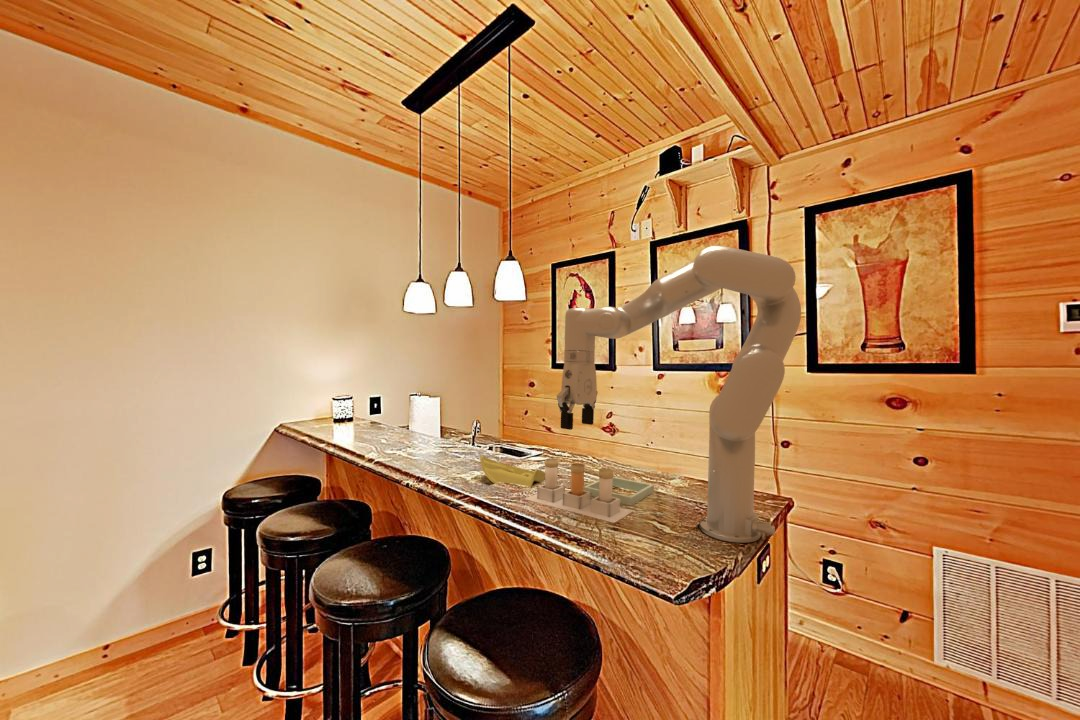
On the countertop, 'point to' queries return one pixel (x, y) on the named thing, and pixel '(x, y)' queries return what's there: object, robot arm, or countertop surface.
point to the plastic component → (510, 473)
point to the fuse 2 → (605, 485)
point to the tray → (641, 487)
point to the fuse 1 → (551, 473)
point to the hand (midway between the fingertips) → (577, 426)
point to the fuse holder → (580, 503)
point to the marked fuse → (577, 479)
